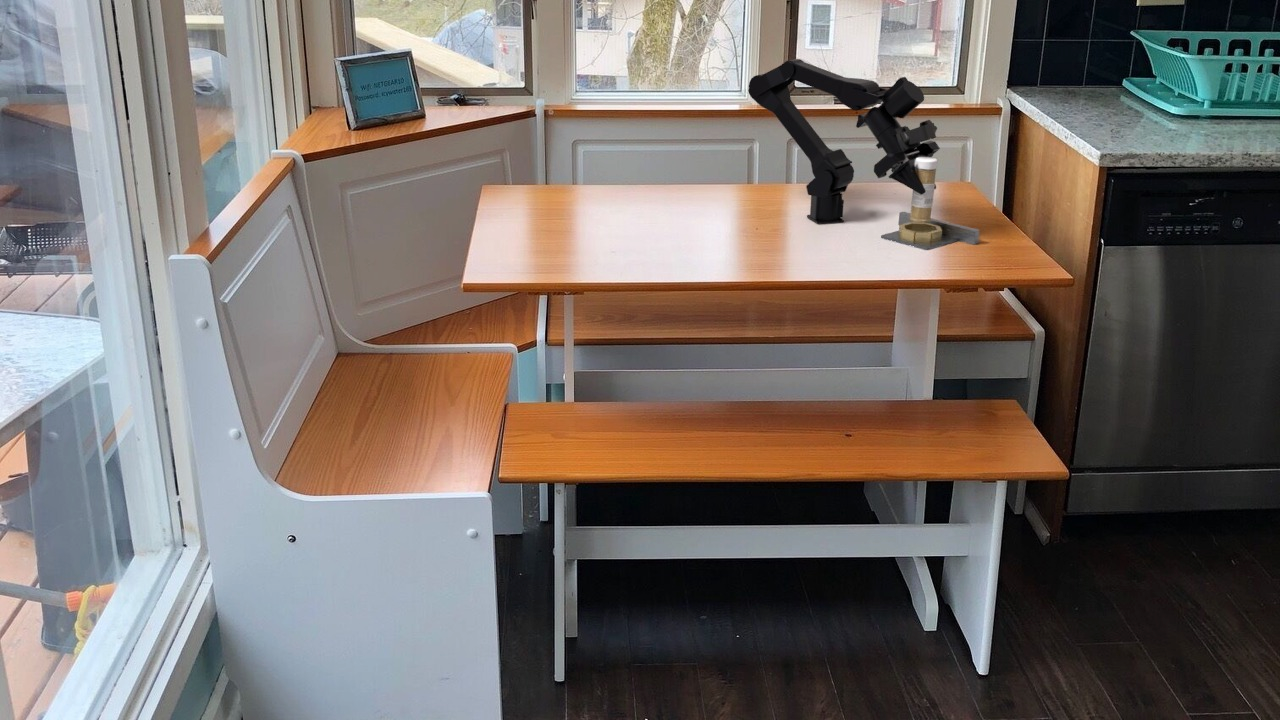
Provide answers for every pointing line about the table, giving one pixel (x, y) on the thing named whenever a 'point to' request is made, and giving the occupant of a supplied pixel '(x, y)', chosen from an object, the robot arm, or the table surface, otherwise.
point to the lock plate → (931, 233)
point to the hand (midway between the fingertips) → (929, 191)
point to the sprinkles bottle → (925, 201)
